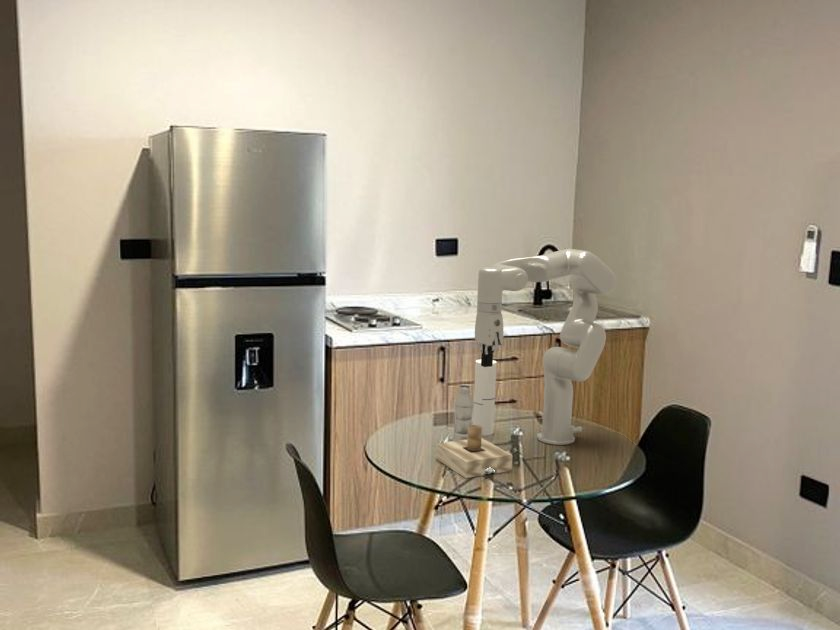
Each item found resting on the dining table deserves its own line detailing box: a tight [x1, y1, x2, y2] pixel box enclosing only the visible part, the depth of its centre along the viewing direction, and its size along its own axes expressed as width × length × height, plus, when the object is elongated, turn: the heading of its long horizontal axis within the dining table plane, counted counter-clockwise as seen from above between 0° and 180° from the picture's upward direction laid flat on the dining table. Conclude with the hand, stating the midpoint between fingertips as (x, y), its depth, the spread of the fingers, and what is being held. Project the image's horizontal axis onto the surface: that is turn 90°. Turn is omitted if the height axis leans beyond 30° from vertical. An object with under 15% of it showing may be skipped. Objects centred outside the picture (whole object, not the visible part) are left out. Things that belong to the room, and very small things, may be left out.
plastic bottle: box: [452, 384, 474, 441], centre depth 277 cm, size 6×7×20 cm
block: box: [435, 437, 513, 479], centre depth 261 cm, size 16×18×5 cm
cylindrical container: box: [472, 359, 498, 437], centre depth 292 cm, size 7×7×25 cm
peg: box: [467, 424, 483, 453], centre depth 260 cm, size 4×4×12 cm
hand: (486, 366), depth 265 cm, fingers closed
